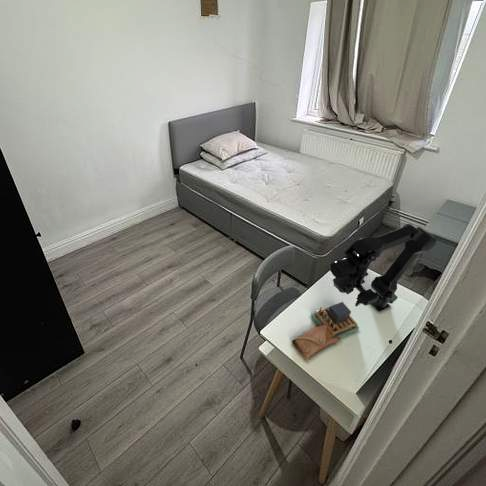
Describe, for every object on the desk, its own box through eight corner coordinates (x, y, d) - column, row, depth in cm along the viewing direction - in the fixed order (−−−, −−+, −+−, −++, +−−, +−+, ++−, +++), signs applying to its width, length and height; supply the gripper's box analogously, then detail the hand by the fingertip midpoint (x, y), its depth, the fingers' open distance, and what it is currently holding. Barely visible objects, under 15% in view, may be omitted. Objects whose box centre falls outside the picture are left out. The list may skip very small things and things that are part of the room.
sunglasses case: (307, 362, 104) (303, 345, 103) (294, 353, 110) (290, 337, 110) (342, 340, 111) (339, 324, 110) (328, 332, 117) (325, 317, 116)
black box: (339, 310, 118) (342, 301, 114) (347, 320, 114) (351, 311, 111) (326, 314, 116) (329, 306, 113) (335, 325, 112) (338, 316, 109)
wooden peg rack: (336, 307, 123) (341, 295, 119) (357, 331, 114) (363, 319, 110) (311, 316, 120) (314, 304, 115) (330, 342, 111) (335, 330, 106)
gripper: (322, 258, 110) (315, 286, 119) (359, 295, 95) (348, 323, 104) (346, 250, 113) (337, 278, 122) (385, 285, 98) (372, 313, 107)
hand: (347, 296), depth 114 cm, fingers open, 9 cm apart
